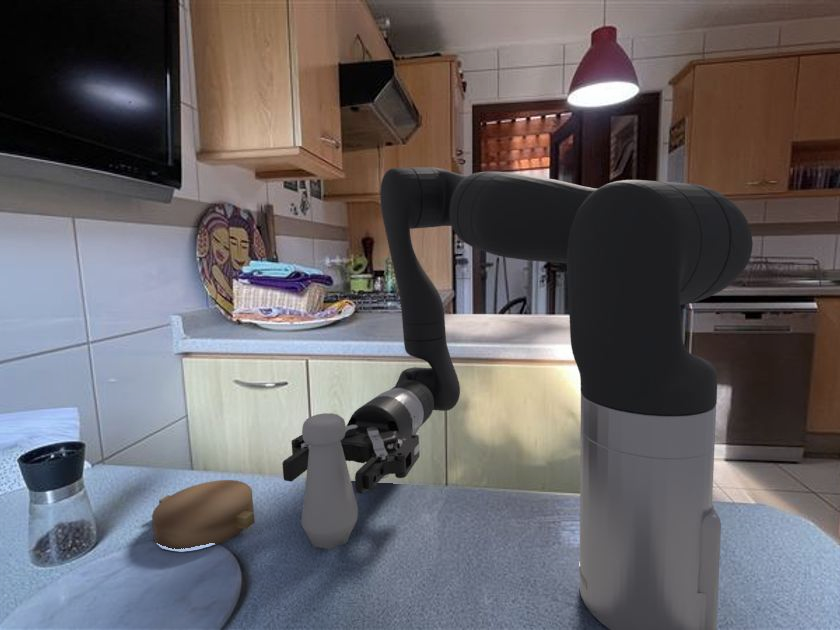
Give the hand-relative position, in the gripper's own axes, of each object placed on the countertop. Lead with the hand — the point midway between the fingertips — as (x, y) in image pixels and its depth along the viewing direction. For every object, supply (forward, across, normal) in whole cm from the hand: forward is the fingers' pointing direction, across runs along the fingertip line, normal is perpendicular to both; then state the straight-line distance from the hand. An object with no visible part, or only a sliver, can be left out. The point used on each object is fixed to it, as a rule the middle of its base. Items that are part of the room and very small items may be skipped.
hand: (321, 478), depth 44 cm
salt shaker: (-1, 0, +7) cm, 7 cm away
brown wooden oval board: (+1, -15, +7) cm, 17 cm away
